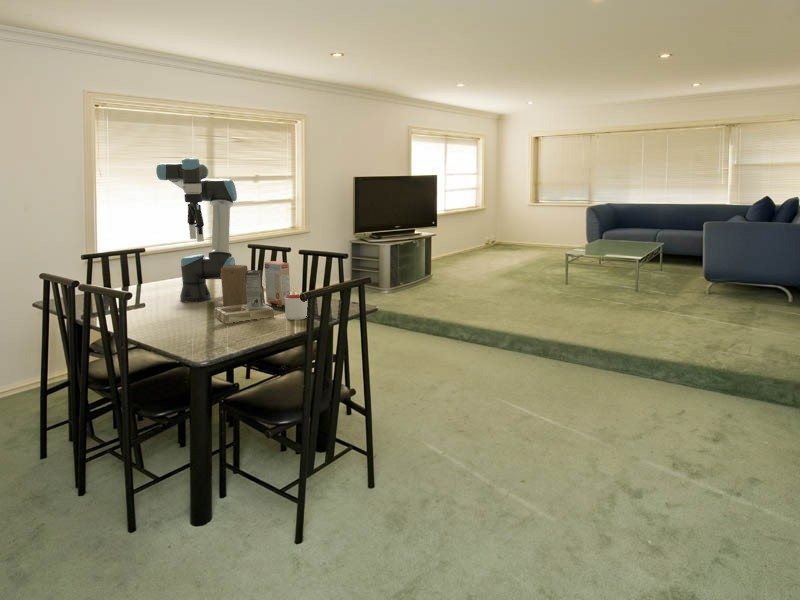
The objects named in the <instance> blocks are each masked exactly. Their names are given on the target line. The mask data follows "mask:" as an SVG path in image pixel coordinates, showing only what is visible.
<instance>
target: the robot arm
mask: <svg viewBox="0 0 800 600" xmlns="http://www.w3.org/2000/svg"><path fill="white" fill-rule="evenodd" d="M208 175H209V168H208V167H207V166H206V164H203V163H201V162H200V160H199V158H182V160H181V163H159V164H157V166H156V176H157V178H158V180H159V181H169V182H171V183H172V184H174V185H175V186H177V187H178V188H180V189H182V190H183V191H184V193H185V194H184V195H183V197H184V202H185V203H187V223H188V225H189V226H188V228H189V229H188V230H189V238H190V240H196V241H197V242H198V243H199V242H204V240H205V239H204V237H205V236H204V226H205V222H204V218H203V214H202V207H201V206H202V205H201V204H199V203H202V202H209V203H210V205H211V206H212V228H211V229H212V231H211V232H212V235H211V250H210V251H209V252H208V256H205V255H204V253H202V254H201V253H200V254H199V253H198V254H194V255H193V254H192V255H188V256H184V257H182V258H181V260H180V269H181V270H180V271H181V279H182V280H181V281H182V287H181V291H180V294H179V295H180V299H179V300H180V301H181V302H184V301H187V302H186V303H193V302H195V303H196V301H197V302H204V300H205V301H207V300H210V299H211V298H212V297H211V295H212V294H211V293H210V290H209V287H208V285H207V280H221V268H222V267H225V266H229V265H236V259H235V257H233V256H232V255H233V254H232V253H231V252H230V223H231V222H230V219H231V218H230V213H231V208H232V207H233V205H234V202H235V201H236V202H237V198H238V195H237V190H236V185H235V183H234V181H233V180H232V179H229V178H207V177H208Z"/></svg>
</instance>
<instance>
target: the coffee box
mask: <svg viewBox="0 0 800 600" xmlns="http://www.w3.org/2000/svg"><path fill="white" fill-rule="evenodd" d="M262 274H263V273H262V270H260V269H258V270H257V269H251V270H248V271H247V272H246V273H245V276H246V292H247V308H261V307H262V305H263V303H264V292H263V290H264V289H263V275H262Z"/></svg>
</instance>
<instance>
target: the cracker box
mask: <svg viewBox="0 0 800 600" xmlns="http://www.w3.org/2000/svg"><path fill="white" fill-rule="evenodd" d="M264 281H265V298H266V301H265V302H267V303H271V304H273V305H279V306H285V296H288V295H291V283H290V263H289V262H282V261H276V260H271V261H264Z"/></svg>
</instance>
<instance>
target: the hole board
mask: <svg viewBox="0 0 800 600" xmlns="http://www.w3.org/2000/svg"><path fill="white" fill-rule="evenodd" d="M214 315H215V318H217V319H218V318H219V319H218V320H220V321H221V320H222V322H223V323H224V324H225V323H228V324H234V323H233V322H235V323H240V322H239V321H243V322H246V321H245V320H250V321H252V320H251V319H257V320H261V319H260V318H264V319H269V318H268V317H272V318H275V310H274V308H273V307H271V306H269V305H268V304H265V303H264V302H263V305H262V307H261V308H247V304H242V305H234V306H226V307H224V306H219V307H214Z"/></svg>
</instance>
